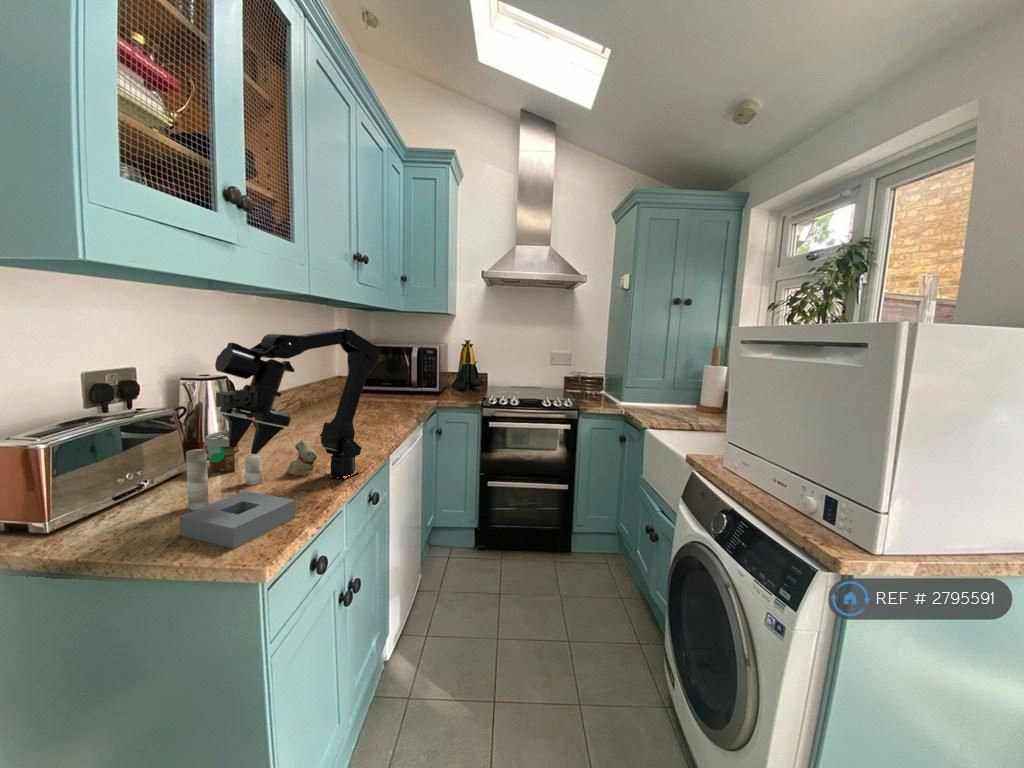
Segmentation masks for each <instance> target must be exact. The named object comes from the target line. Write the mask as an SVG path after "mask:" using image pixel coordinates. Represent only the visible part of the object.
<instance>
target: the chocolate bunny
mask: <svg viewBox="0 0 1024 768" xmlns="http://www.w3.org/2000/svg"><path fill="white" fill-rule="evenodd" d="M295 449H296V451H297V453H298V457H297V458H295V459H293V460H292V461H291V462H290V464H289V466H288V467H287V470H286V471H287V473H288V474H289V475H290V474H295V475H294V476H299V475H302V476H305V475H304V474H311V475H313V474H315V470H314V468H315V466H316V464H315V461H316V460H317V458H318V456H317V452H316V450H314V449H313V448H311V447H310V445H309V443H308V442H307V441H306V440H304V439H301V440H300V441H299V442H298V443H297V442H296V444H295ZM312 473H313V474H312Z"/></svg>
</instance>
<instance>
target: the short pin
mask: <svg viewBox="0 0 1024 768" xmlns="http://www.w3.org/2000/svg"><path fill="white" fill-rule="evenodd" d="M244 465H245V466H244V468H245V469H244V470H245V485H246V486H258V485H259V484H262V483H263V472H262V469H263V468H262V456H261V455H249V456H246V457H245V458H244Z"/></svg>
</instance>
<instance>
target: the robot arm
mask: <svg viewBox="0 0 1024 768" xmlns="http://www.w3.org/2000/svg"><path fill="white" fill-rule="evenodd" d="M335 345H339V346H340V347H341V349H342V351H344V352H345V353H346V354H347V364H348V369H349V370H348V375H347V378H346V381H345V384H344V387H343V390H342V393H341V396H340V400H339V403H338V406H337V409H336V413H335V415H334V418H333V419H332V420H331V421H330V422H326V421H325V422H324V423H323V426H322V431H321V433H320V434H319V437H320V444H321V445H322V447H323V448H324V449H325V453H327V454H330V472H329V473H327V474H326V477H327V476H332V477H339V478H343V476H348V475H350V476H351V474H353V473H354V471H355V470H356V457H357V456H360V455H361V451H362V447H361V446H360V445H359V443H357V442H356V441H355V440H354V439H355V435H356V432H355V427H354V420H355V419H354V418H355V415H356V412H357V408H358V406H359V402H360V399H361V395H362V392H363V389H364V386H365V382H366V380H367V377H368V375H369V374H370V373H371V371H372V370H373V369H374V368H375V367H376V365H377V363H378V360H379V358H380V355H381V354H380V353H381V352H380V351H379V348H378V347H377V345H375V344H373V343H371V342H370V341H368V340H367V339H366V338H363V337H362V336H360V335H359V334H357V333H356V332H355V331H354V330H353V329H350V328H337V329H333V330H325V331H318V332H311V333H304V334H278V333H270V334H266V335H264V336H263V338H262V339H261V340H260V342H259V343H257V344H256V345H254V346H252V347H251V348H247V347H245V346H242V345H240V344H238V343H235V342H228V343H227V346H226V347H225V348H223V349H222V350H221V352H220V354H218V355H217V357H216V358H215V363H214V365H215V370H216V371H217V372H220V373H222V374H226V375H230V376H234V377H236V378H237V377H238V378H241V379H244V380H248V379H250V378H251V377H252V379H251V381H250V383H249V384H245V385H244V386H243V387H242V389H241V388H240V389H234V390H231V391H217V392H215V407H216V408H220V410H219V412H221V415H222V417H224V419H225V421H227V422H228V436H229V447H234V448H235V447H236V446H237V445H238V444H239V442H240V441H241V439H242V438H243V437H244V436H245V434H246V432H247V431H248V430H249V428H250V426H251V425H253V427H254V429H255V432H254V435H253V440H252V445H251V448H250V449H251V450H250V454H251V455H257V454H258V453H259V452H260V451H261V450H262V449H263V448H264V447H265V446H266V445H267V444H268V443H269V442H270V441H271V440H272V439H273V438H274V437H275V436H276V435H277V434H279V433H280V432H281V431H282V430H284V429H285V427H287V428H288V427H289V426H290V422H291V420H292V417H291V416H290V414H288V413H285V412H281V411H277V410H276V409H274V408H273V406H274V404H275V400H276V397H278V398H280V397H281V395H282V392H279V389H280V386H281V383H282V380H283V377H284V374H285V372H288V373H294V372H295V369H294V367H293V366H292V364H291V362H290V361H289V360H287V359H291V358H294V357H296V356H299V355H301V354H303V353H305V352H306V351H309V350H313V349H319V348H320V349H321V348H323V347H324V348H325V347H331V346H335ZM261 358H263V359H261ZM264 359H267V360H264ZM276 359H283V361H279V360H276ZM284 359H285V360H284ZM253 418H254V419H253ZM358 471H359V472H360V470H358ZM357 473H358V472H357ZM358 474H359V473H358ZM332 477H331V478H332ZM348 477H349V476H348Z"/></svg>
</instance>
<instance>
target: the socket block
mask: <svg viewBox="0 0 1024 768" xmlns="http://www.w3.org/2000/svg"><path fill="white" fill-rule="evenodd" d="M178 519H179V520H178V522H179V536H180V535H181V537H184V536H185V537H184V538H188V537H189V539H192V538H193V540H196V541H201V542H205V543H208V544H213V545H217V546H220V547H225V548H228V549H232V550H235V549H237V548H239V547H241V546H242V545H243V546H244V545H245V544H246V543H248V542H250V541H253V540H254V539H257V538H258V537H260V536H262V535H264V534H266V533H268V532H270V531H272V530H274V529H276V528H278V527H279V526H283V524H285V523H288V522H289V521H291V520H294V519H296V500H295V499H290V498H286V497H280V496H276V495H270V494H265V493H259V492H255V491H254V492H253V491H249V490H244V491H242V492H240V493H237V494H234V495H231V496H229V497H226V498H223V499H221V500H218V501H215V502H212V503H209V505H207V506H204V507H202V508H199V509H196V510H191V511H189V512H186V513H183V514H180V515H179V516H178Z"/></svg>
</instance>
